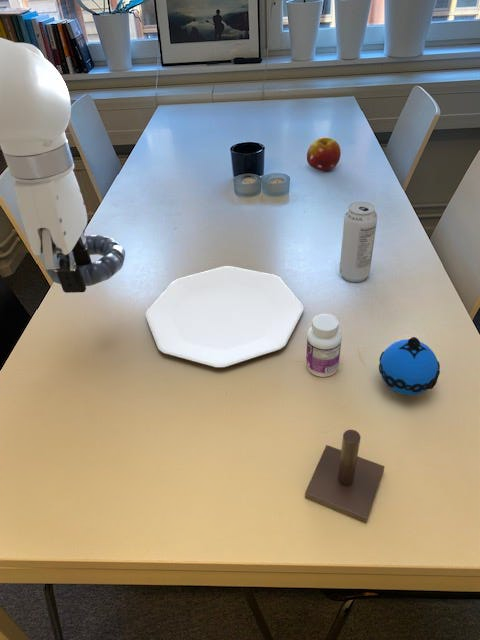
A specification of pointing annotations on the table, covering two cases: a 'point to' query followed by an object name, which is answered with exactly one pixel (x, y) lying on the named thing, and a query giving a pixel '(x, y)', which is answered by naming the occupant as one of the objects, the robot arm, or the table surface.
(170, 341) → the plate
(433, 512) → the table surface
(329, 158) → the fruit
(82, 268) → the ring
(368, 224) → the energy drink can
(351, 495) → the stand
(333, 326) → the pill bottle
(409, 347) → the ornament
